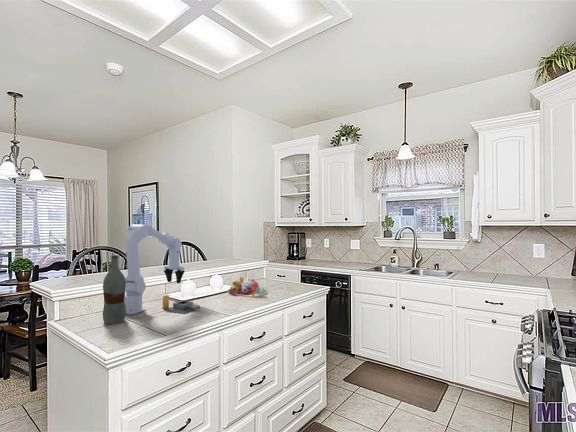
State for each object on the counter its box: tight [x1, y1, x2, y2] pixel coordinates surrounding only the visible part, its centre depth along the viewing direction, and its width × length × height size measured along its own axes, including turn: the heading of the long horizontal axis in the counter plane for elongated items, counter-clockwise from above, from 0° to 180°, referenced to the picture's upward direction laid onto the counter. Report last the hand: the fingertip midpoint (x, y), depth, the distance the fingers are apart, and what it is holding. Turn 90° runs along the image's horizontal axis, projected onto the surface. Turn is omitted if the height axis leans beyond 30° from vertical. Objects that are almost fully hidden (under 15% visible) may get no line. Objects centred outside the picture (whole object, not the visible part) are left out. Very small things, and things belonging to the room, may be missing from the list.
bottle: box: [102, 255, 127, 326], centre depth 150 cm, size 9×9×30 cm
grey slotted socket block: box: [165, 300, 201, 315], centre depth 170 cm, size 12×14×4 cm
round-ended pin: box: [162, 294, 170, 311], centre depth 171 cm, size 3×3×7 cm
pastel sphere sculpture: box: [227, 276, 268, 298], centre depth 210 cm, size 25×24×9 cm
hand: (174, 282), depth 191 cm, fingers open, 7 cm apart
